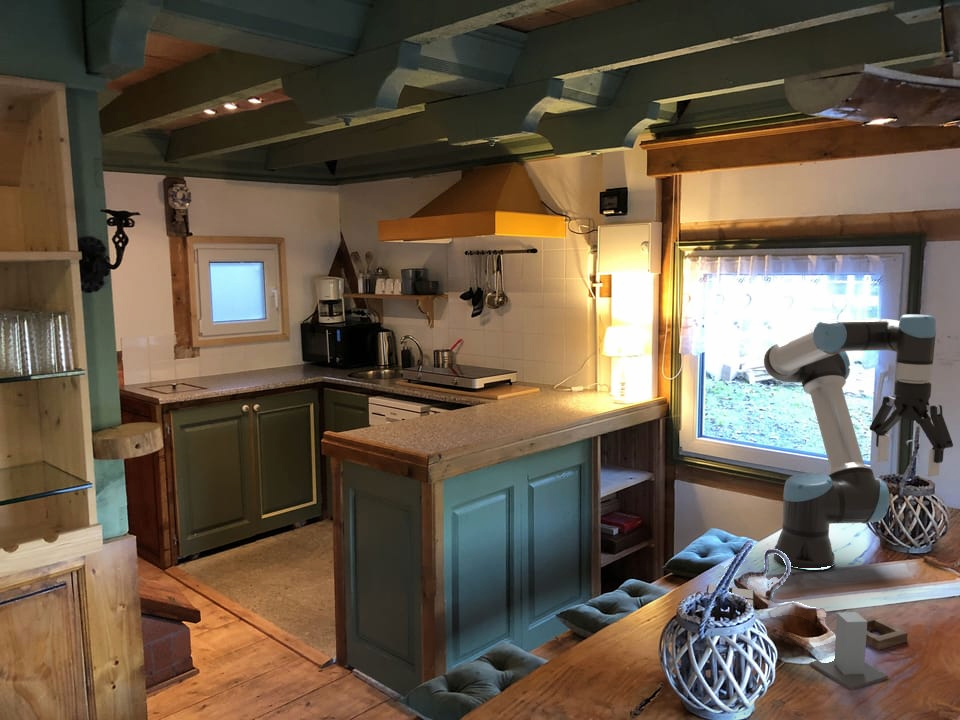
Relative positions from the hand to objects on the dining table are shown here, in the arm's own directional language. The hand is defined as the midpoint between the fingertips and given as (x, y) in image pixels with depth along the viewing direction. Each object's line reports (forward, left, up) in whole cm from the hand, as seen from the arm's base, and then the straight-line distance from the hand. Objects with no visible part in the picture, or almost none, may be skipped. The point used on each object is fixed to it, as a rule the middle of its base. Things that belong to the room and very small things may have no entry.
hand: (907, 468), depth 186 cm
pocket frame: (+13, -23, -32) cm, 41 cm away
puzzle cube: (+1, -53, -32) cm, 62 cm away
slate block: (+21, -40, -31) cm, 55 cm away
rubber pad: (+21, -40, -32) cm, 55 cm away
